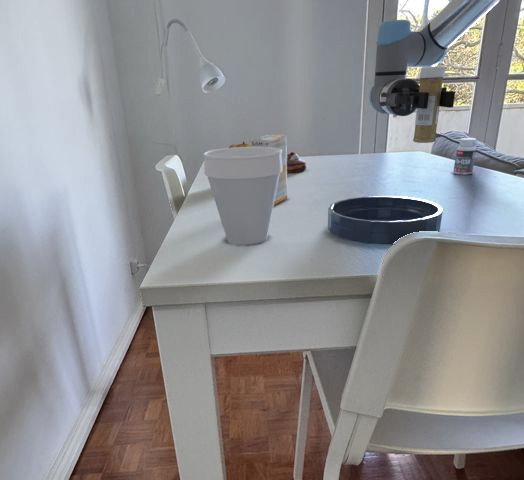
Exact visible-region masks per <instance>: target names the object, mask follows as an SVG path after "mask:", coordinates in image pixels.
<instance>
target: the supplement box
mask: <svg viewBox="0 0 524 480" xmlns="http://www.w3.org/2000/svg"><path fill="white" fill-rule="evenodd" d="M287 143H288V142H287V134H267V135H263V136H260V137H259V136H258V137H255V138H252V139H250V140H249V144H250V146H251V147H273V148H279V149H281V150H282V153H281V157H282V169H283V170H282V172H281V173H280V176H279V181H278V186H277V191H276V196H275V201H274V206H275V205H278V204H280V203H281V202H283V201H284V200H287V199H288V172H287V154H288V152H287V145H288V144H287Z"/></svg>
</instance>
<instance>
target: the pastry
mask: <svg viewBox="0 0 524 480" xmlns="http://www.w3.org/2000/svg"><path fill="white" fill-rule="evenodd" d="M306 169H307V162H306V161H305V160H304V159H301V158H300V156H299V155H298V154H297V153H296V152H295V151H291V152H290V153H287V173H300V172H304V171H306Z"/></svg>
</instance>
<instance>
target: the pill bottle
mask: <svg viewBox="0 0 524 480" xmlns="http://www.w3.org/2000/svg"><path fill="white" fill-rule="evenodd" d="M477 141H478V139H477V138H476V137H463V138H460V139H459V146H458V147H457V148H456V153H455V159H454V166H453V171H452V173H453V174H455V175H463V176H464V175H465V176H466V175H471V174H473V171H474V165H475V160H476V154H477V146H476V145H477V143H478V142H477Z"/></svg>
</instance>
